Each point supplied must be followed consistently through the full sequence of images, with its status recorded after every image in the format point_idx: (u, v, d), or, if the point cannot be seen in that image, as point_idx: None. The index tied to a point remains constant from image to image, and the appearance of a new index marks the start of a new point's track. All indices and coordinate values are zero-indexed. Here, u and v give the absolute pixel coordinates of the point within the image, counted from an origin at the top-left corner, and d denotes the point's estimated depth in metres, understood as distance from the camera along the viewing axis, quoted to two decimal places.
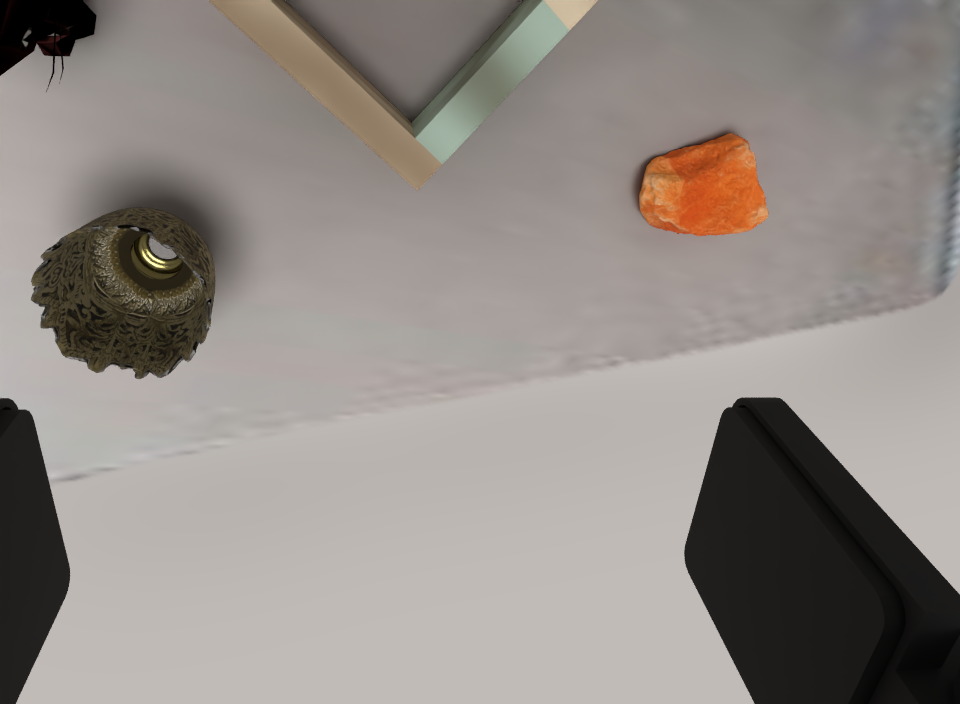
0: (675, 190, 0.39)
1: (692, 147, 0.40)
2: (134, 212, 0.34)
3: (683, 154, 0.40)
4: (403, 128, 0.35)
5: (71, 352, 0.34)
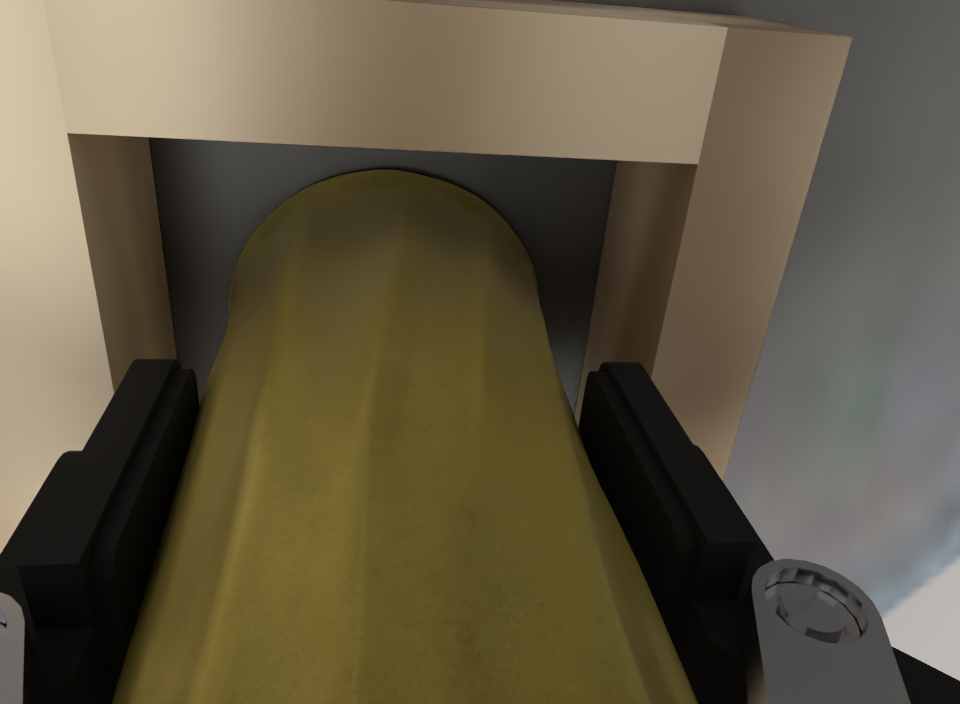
0: None
1: None
2: None
3: None
4: None
5: None
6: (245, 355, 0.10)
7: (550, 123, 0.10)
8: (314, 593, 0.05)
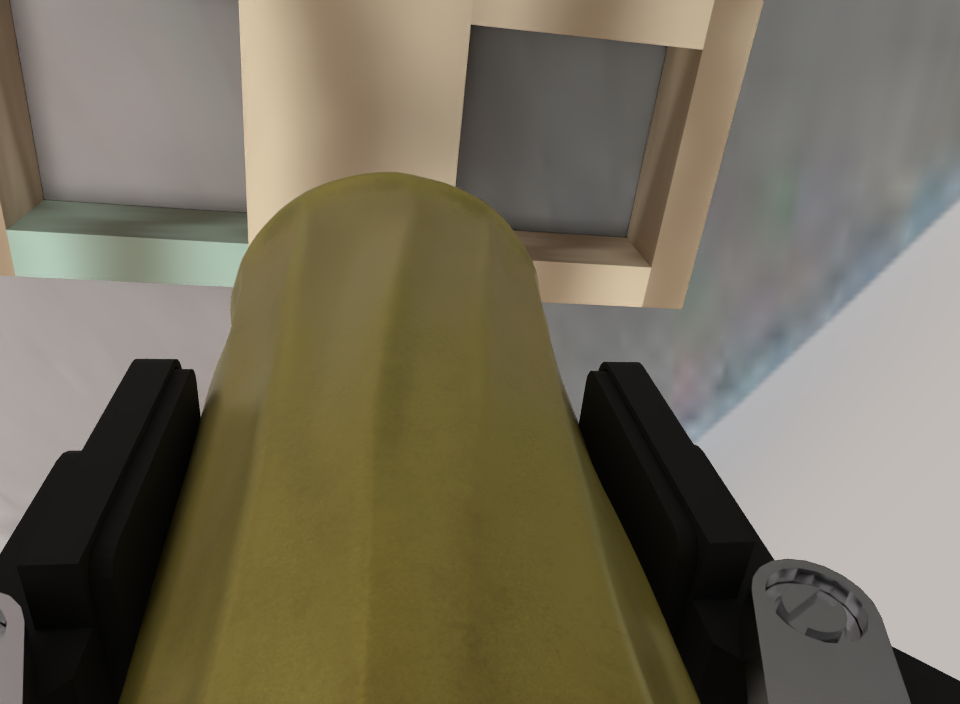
0: None
1: None
2: None
3: None
4: (1, 210, 0.26)
5: None
6: (249, 357, 0.10)
7: (646, 29, 0.26)
8: (320, 597, 0.05)
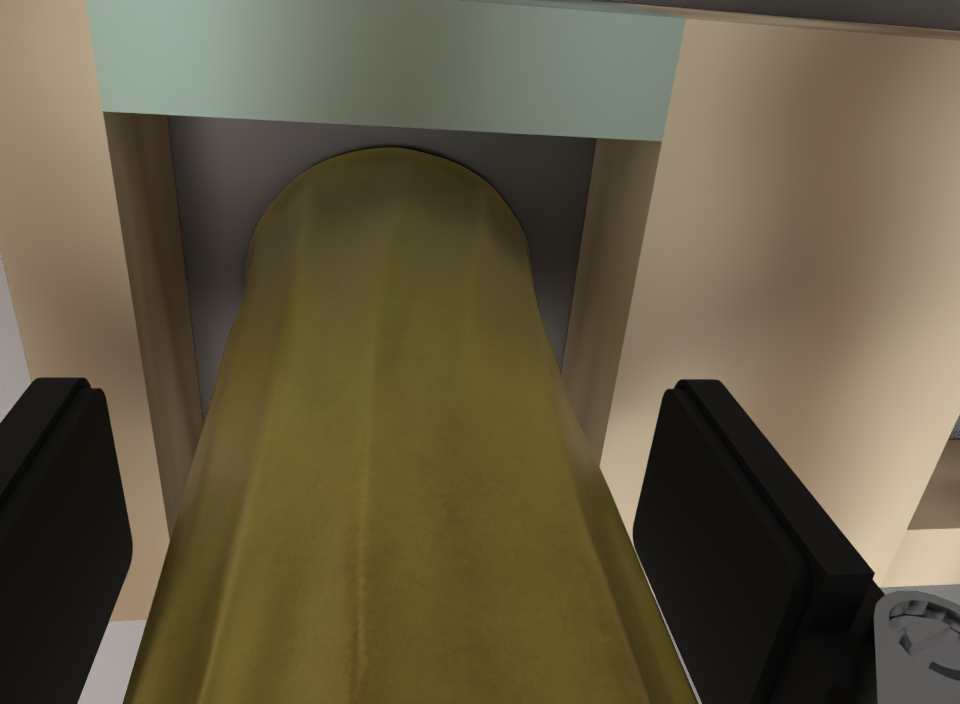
0: None
1: None
2: None
3: None
4: (165, 524, 0.14)
5: None
6: (265, 307, 0.11)
7: None
8: (329, 475, 0.06)
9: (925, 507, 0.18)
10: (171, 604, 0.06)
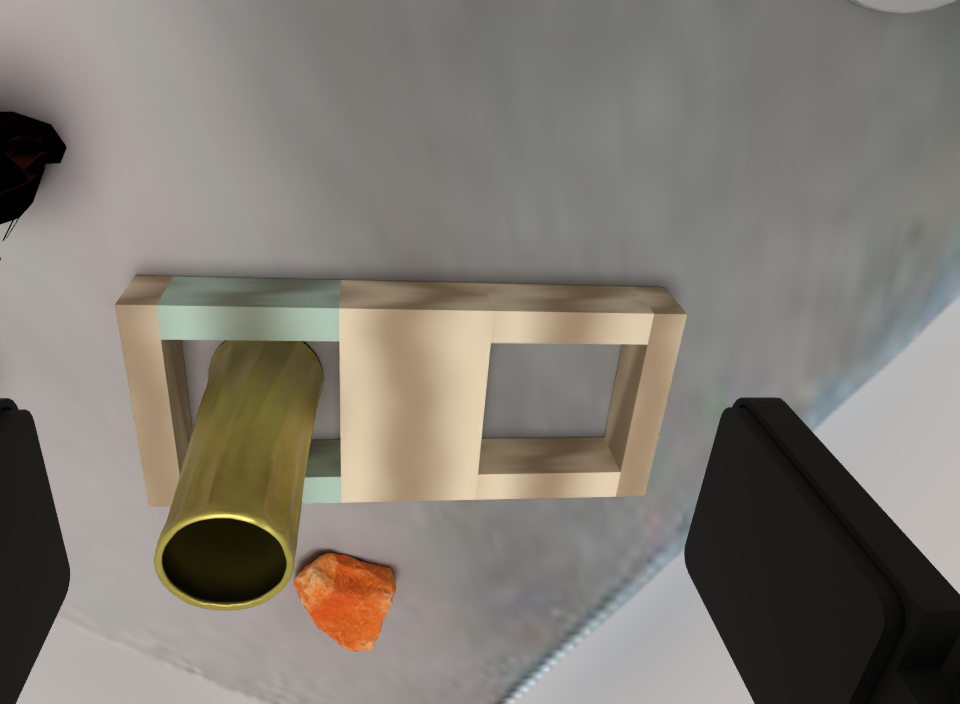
0: (322, 592, 0.46)
1: (359, 564, 0.48)
2: None
3: (350, 566, 0.47)
4: (178, 468, 0.39)
5: None
6: (211, 396, 0.36)
7: (608, 336, 0.39)
8: (218, 442, 0.31)
9: (493, 466, 0.43)
10: (186, 467, 0.31)
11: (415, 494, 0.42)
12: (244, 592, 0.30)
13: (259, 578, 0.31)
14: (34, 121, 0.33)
